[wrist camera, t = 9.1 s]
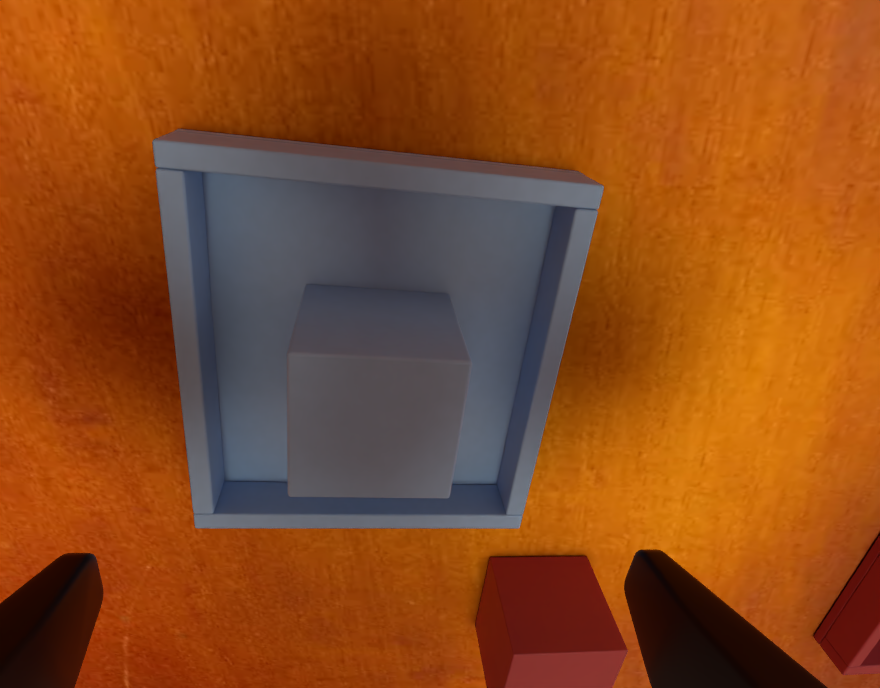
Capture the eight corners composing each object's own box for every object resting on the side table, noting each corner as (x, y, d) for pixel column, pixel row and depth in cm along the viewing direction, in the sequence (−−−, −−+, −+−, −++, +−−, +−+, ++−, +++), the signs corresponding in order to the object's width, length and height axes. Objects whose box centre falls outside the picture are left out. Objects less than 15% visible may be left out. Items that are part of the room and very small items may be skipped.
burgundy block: (565, 621, 24) (599, 720, 20) (474, 624, 23) (493, 725, 20) (587, 555, 22) (628, 651, 19) (489, 556, 21) (513, 655, 18)
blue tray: (507, 489, 20) (520, 529, 18) (210, 486, 18) (194, 529, 17) (579, 171, 15) (605, 185, 13) (178, 128, 13) (150, 138, 12)
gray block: (433, 410, 17) (450, 499, 14) (304, 405, 17) (287, 498, 13) (449, 292, 16) (473, 362, 12) (305, 283, 15) (286, 352, 12)
